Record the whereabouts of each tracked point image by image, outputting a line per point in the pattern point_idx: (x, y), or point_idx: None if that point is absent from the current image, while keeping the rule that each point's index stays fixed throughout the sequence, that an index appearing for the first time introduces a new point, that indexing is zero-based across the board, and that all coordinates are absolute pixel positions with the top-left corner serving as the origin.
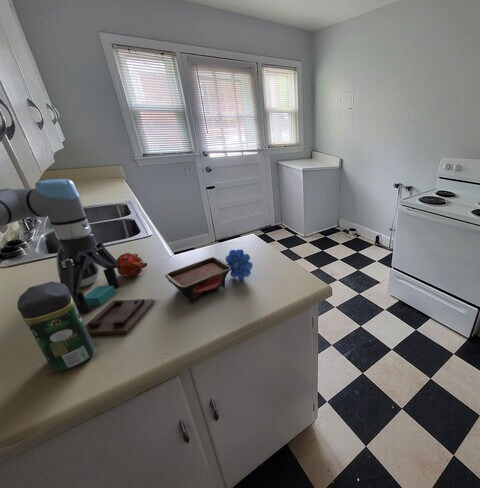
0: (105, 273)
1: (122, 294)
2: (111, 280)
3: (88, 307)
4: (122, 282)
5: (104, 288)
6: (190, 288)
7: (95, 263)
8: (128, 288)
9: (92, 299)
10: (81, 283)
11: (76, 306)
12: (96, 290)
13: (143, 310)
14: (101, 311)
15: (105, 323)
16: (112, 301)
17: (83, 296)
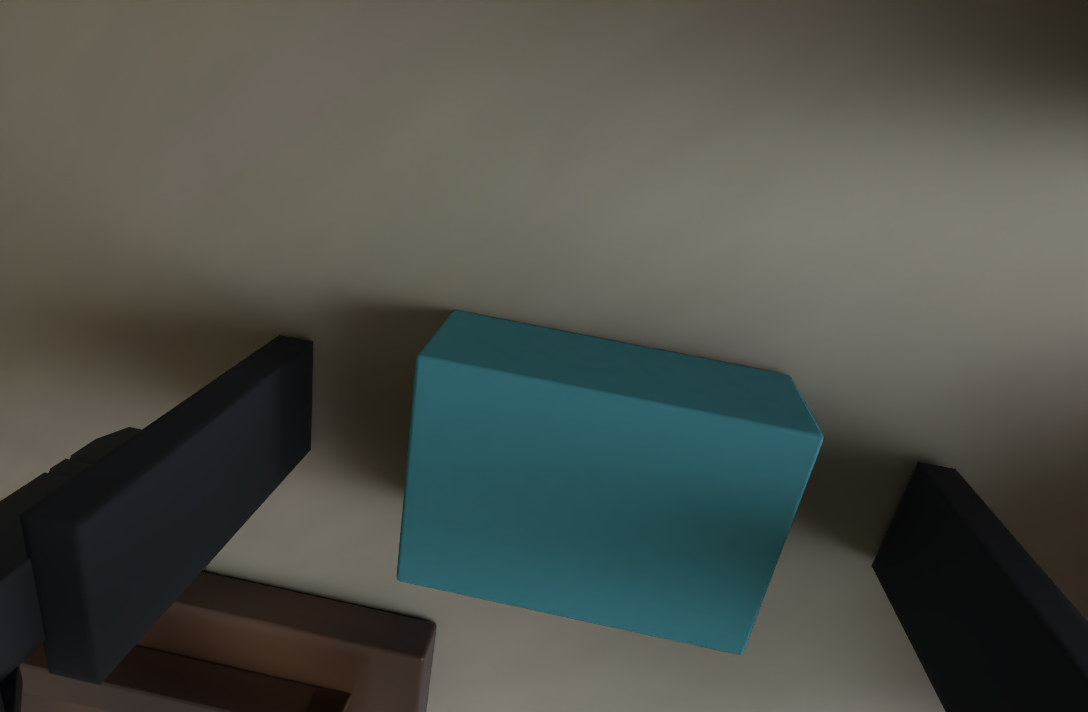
0: (1076, 695)
1: (642, 644)
2: (948, 608)
3: (278, 477)
4: (1041, 565)
5: (682, 572)
6: None
7: None
8: (787, 670)
9: (406, 498)
10: None
11: (221, 383)
12: (650, 481)
13: None
14: (211, 617)
15: (27, 703)
16: (405, 658)
17: (153, 608)
